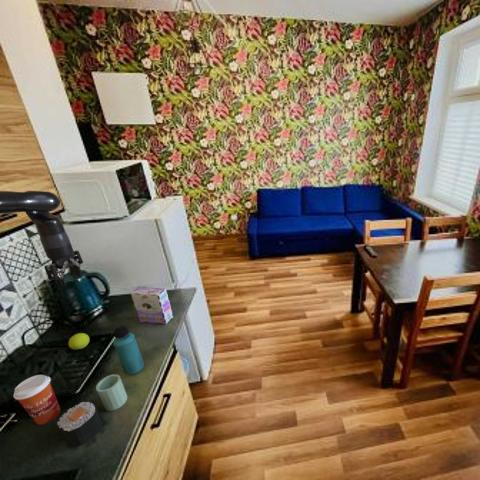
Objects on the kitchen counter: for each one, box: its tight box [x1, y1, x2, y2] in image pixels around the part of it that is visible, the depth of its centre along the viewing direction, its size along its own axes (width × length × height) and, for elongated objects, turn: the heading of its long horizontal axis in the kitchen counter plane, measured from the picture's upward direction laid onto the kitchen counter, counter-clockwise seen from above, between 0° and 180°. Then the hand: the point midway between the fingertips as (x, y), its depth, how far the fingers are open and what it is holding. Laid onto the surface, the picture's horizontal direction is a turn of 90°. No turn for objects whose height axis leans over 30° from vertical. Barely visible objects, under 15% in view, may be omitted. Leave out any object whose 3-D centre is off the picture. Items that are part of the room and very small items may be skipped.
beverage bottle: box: [112, 325, 145, 376], centre depth 95 cm, size 6×7×20 cm
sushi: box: [56, 401, 104, 447], centre depth 78 cm, size 8×8×8 cm
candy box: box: [129, 286, 174, 326], centre depth 123 cm, size 14×6×16 cm, turn 83°
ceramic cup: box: [95, 373, 128, 412], centre depth 86 cm, size 6×6×9 cm
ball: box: [68, 332, 91, 351], centre depth 108 cm, size 6×6×6 cm
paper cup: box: [13, 374, 61, 426], centre depth 81 cm, size 8×8×14 cm
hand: (71, 281), depth 106 cm, fingers open, 8 cm apart
